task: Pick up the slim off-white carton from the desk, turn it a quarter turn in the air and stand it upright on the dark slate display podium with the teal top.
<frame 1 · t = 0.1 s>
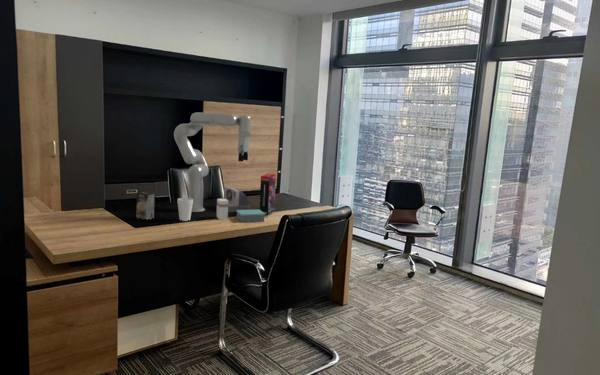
hand: (243, 160, 289), 37 cm above the table, tool pointing down, fingers open, 9 cm apart
graphics card box: (266, 213, 307), on the table
instant camera: (234, 209, 315), on the table
foam cup: (184, 220, 274), on the table
podium: (250, 219, 285), on the table
carton: (222, 217, 285), on the table
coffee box: (145, 218, 271), on the table
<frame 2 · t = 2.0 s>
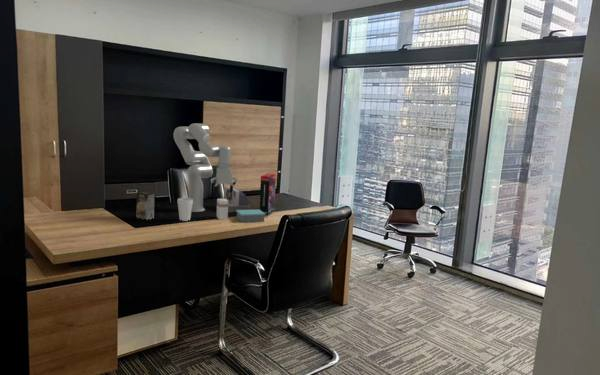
hand: (223, 192, 282), 17 cm above the table, tool pointing down, fingers open, 9 cm apart
nothing on the table moved.
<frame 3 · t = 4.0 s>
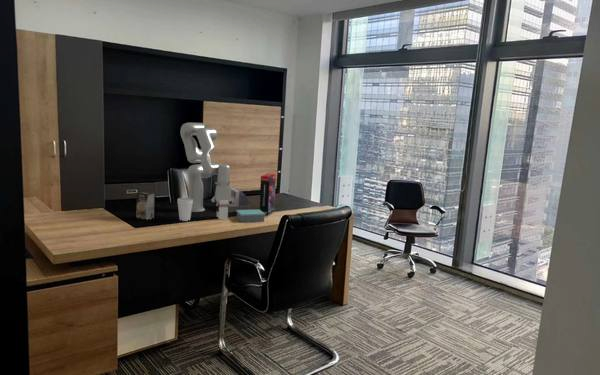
hand: (222, 211, 284), 5 cm above the table, tool pointing down, fingers closed on carton, 5 cm apart
carton: (222, 217, 285), on the table, touching gripper
everything else where it was.
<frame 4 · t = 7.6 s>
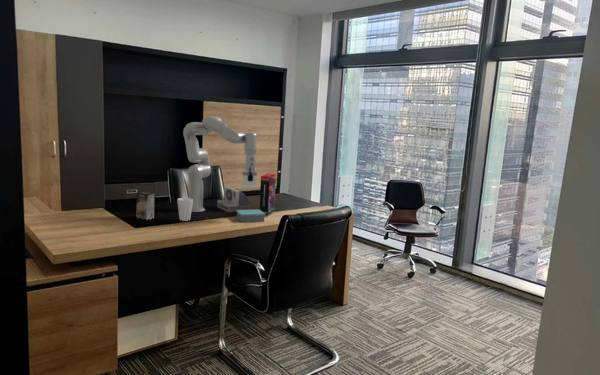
hand: (249, 180, 281), 26 cm above the table, tool pointing down, fingers closed on carton, 5 cm apart
carton: (248, 187, 282), point 21 cm above the table, touching gripper
everything else where it was.
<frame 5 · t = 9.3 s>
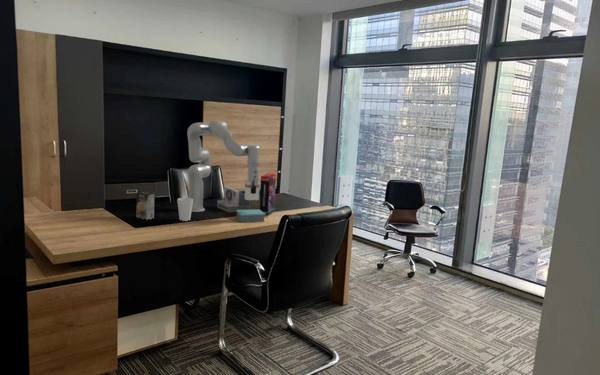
hand: (251, 192, 282), 18 cm above the table, tool pointing down, fingers closed on carton, 5 cm apart
carton: (251, 199, 283), point 14 cm above the table, touching gripper
everything else where it was.
when the fingers open (11 cm above the table, at t = 11.0 s): carton drops 1 cm, resting on podium.
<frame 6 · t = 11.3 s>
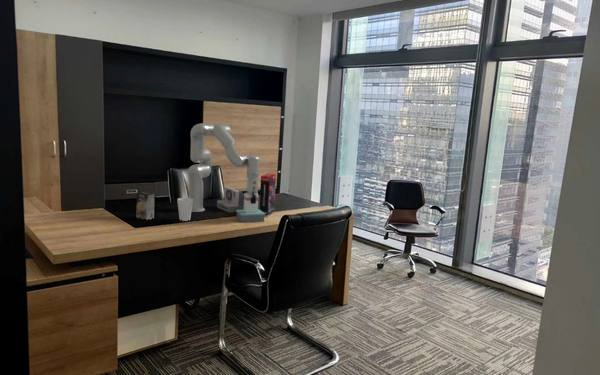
hand: (251, 201, 283), 12 cm above the table, tool pointing down, fingers open, 8 cm apart
carton: (250, 211, 285), point 5 cm above the table, touching podium
everything else where it was.
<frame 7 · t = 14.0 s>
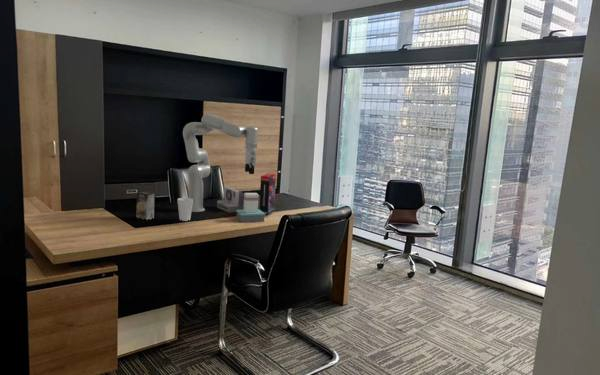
hand: (249, 172, 282), 30 cm above the table, tool pointing down, fingers open, 9 cm apart
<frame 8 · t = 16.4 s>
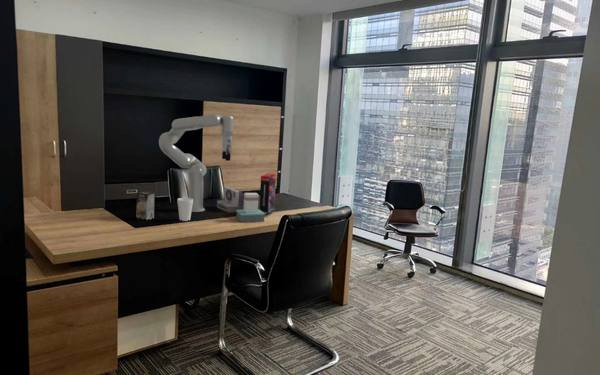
hand: (226, 159, 296), 36 cm above the table, tool pointing down, fingers open, 9 cm apart
at the end: carton inside the target area on the podium (0.1 cm from its centre), point 5.2 cm above the podium's base; carton tilted 0°; the gripper is holding nothing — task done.
